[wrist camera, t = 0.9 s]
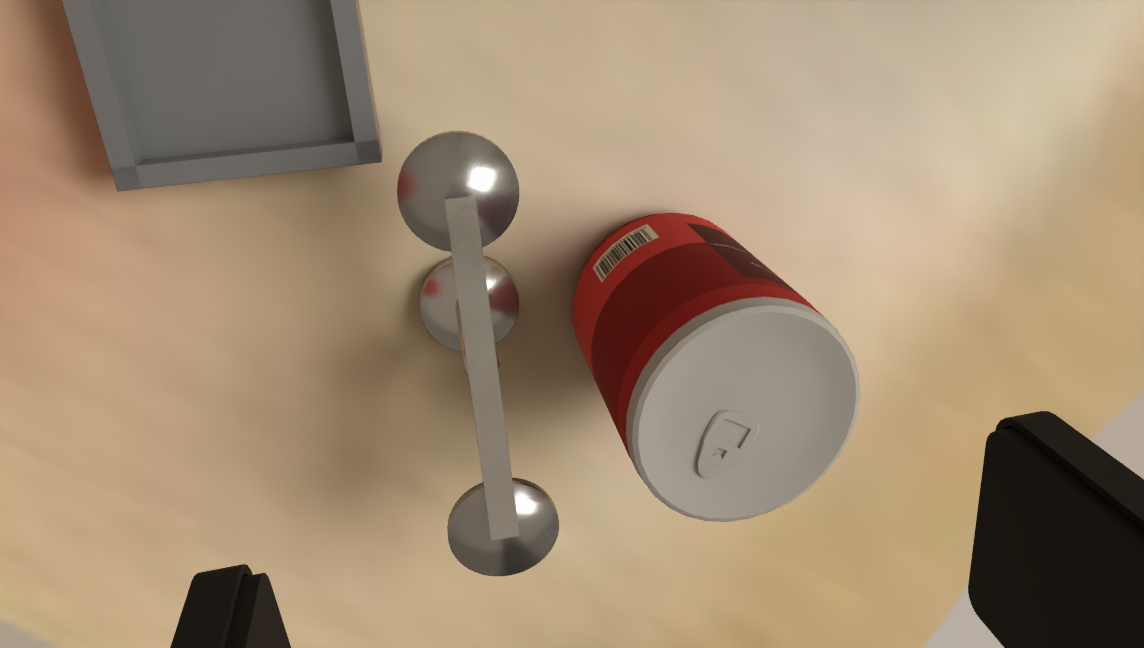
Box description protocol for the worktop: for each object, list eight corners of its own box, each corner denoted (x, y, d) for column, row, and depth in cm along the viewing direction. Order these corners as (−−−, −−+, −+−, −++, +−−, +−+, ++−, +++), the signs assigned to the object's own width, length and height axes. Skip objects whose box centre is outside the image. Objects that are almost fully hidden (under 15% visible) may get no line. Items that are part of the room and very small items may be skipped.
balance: (389, 111, 32) (387, 161, 25) (495, 101, 33) (525, 146, 25) (444, 468, 39) (456, 594, 31) (533, 454, 39) (565, 575, 32)
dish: (56, -95, 28) (32, -99, 26) (339, -114, 29) (335, -118, 28) (133, 177, 32) (117, 191, 30) (382, 150, 33) (381, 162, 31)
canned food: (551, 369, 38) (606, 517, 28) (590, 192, 35) (666, 287, 25) (713, 387, 40) (818, 532, 30) (762, 221, 37) (896, 320, 27)
